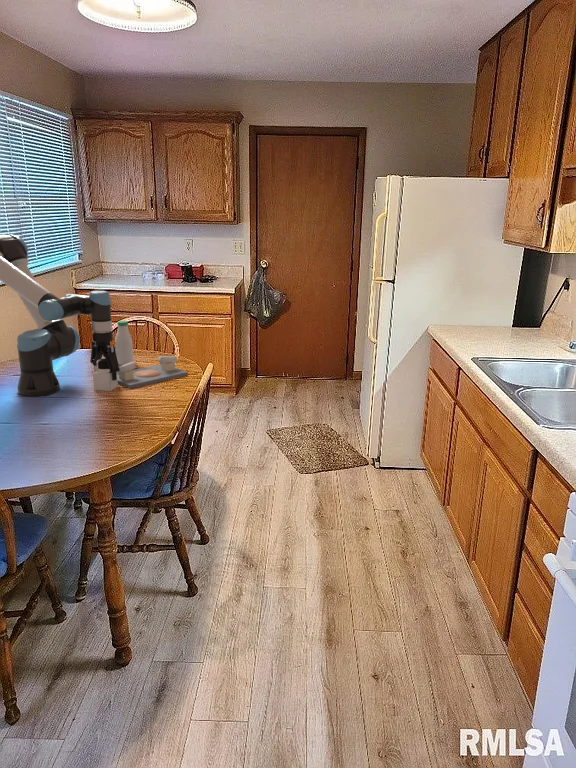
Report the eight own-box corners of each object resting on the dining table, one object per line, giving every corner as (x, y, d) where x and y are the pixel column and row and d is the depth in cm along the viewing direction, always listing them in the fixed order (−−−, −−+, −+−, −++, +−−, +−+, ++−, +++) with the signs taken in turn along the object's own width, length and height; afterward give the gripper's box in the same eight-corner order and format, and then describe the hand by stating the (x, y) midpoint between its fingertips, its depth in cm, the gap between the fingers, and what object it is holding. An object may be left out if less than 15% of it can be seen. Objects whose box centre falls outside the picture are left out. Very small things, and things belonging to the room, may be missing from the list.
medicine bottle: (118, 385, 228) (116, 357, 224) (111, 391, 221) (109, 362, 217) (101, 384, 228) (99, 356, 225) (93, 390, 221) (91, 361, 218)
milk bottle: (137, 363, 261) (134, 321, 255) (124, 366, 254) (121, 323, 248) (125, 360, 265) (123, 319, 259) (112, 364, 258) (110, 321, 252)
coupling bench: (129, 388, 225) (128, 369, 222) (106, 378, 236) (105, 360, 234) (188, 375, 245) (187, 357, 243) (164, 366, 257) (163, 349, 254)
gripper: (127, 334, 213) (130, 389, 219) (95, 325, 228) (99, 376, 234) (109, 337, 207) (112, 393, 214) (78, 327, 222) (82, 379, 229)
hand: (106, 384), depth 224 cm, fingers open, 11 cm apart
